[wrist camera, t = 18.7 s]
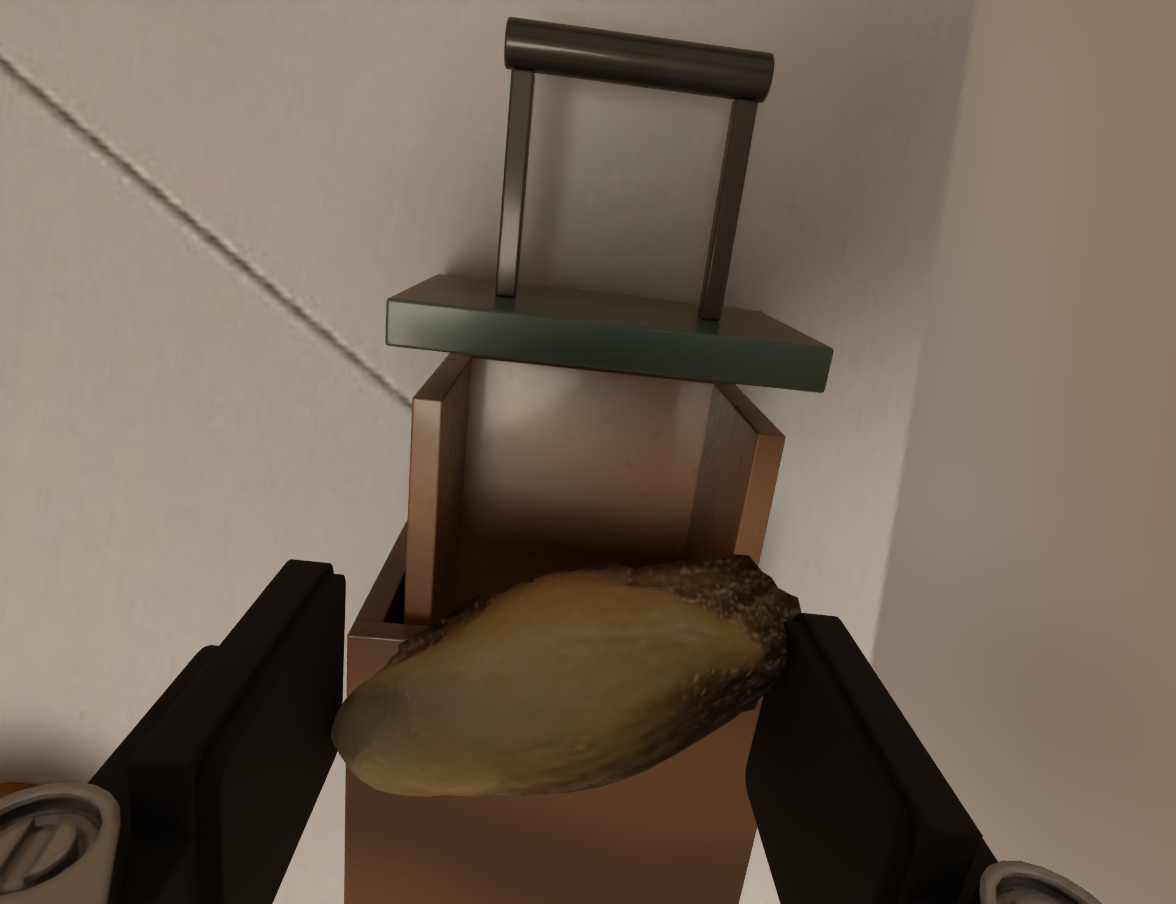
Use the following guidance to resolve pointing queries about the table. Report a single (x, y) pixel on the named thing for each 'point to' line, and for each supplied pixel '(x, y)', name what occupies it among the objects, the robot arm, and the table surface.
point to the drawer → (593, 374)
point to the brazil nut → (569, 680)
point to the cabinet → (546, 816)
